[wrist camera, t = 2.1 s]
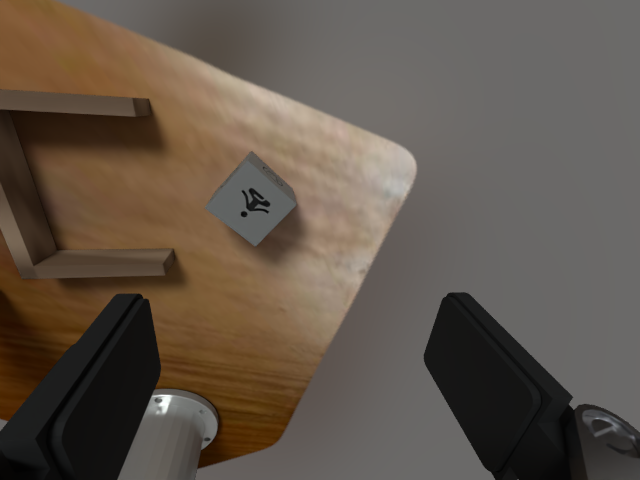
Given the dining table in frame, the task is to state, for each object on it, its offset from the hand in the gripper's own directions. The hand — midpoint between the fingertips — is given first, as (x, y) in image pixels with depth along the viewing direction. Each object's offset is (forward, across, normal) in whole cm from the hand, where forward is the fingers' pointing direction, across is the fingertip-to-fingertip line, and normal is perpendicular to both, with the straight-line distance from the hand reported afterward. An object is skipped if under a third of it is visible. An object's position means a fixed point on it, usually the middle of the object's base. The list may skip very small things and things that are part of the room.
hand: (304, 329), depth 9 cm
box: (+20, +16, +2) cm, 25 cm away
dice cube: (+20, +3, +1) cm, 21 cm away
